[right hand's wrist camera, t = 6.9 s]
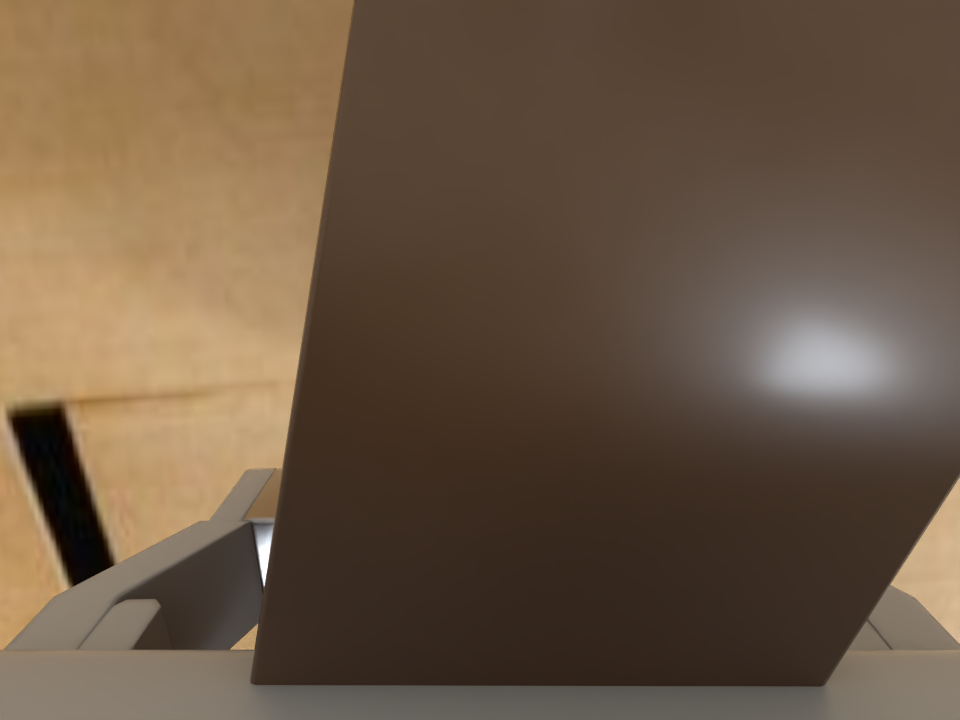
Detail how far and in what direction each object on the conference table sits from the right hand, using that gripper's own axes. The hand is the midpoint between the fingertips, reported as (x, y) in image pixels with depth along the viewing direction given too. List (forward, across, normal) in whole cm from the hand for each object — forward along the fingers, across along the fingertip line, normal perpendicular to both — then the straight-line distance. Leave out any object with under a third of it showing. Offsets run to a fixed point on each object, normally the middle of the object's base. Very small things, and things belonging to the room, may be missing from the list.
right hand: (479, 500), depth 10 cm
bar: (+4, -2, -8) cm, 9 cm away
